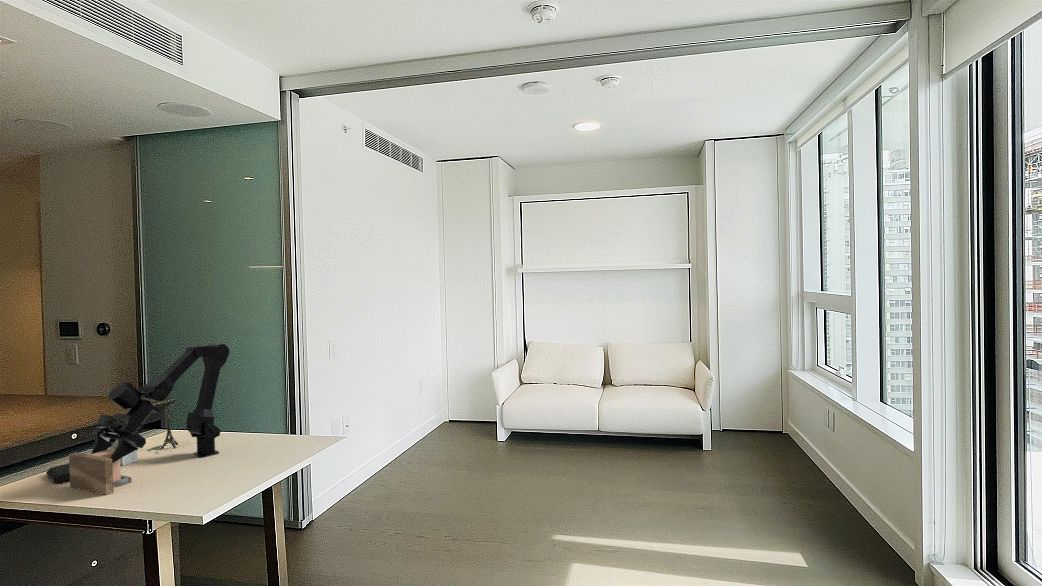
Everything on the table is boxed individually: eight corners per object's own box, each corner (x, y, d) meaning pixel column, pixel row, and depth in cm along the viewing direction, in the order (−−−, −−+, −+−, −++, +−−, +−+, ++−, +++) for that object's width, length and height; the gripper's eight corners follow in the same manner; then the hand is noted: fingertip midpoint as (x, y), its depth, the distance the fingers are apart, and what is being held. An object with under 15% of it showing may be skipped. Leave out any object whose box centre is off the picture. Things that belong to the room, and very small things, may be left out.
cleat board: (105, 476, 188) (103, 445, 187) (140, 483, 180) (139, 451, 180) (70, 486, 179) (68, 454, 178) (106, 495, 171) (104, 460, 171)
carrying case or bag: (41, 477, 189) (53, 487, 180) (40, 468, 189) (52, 477, 180) (81, 468, 197) (94, 477, 188) (80, 459, 197) (94, 467, 188)
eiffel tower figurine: (179, 441, 229) (178, 407, 229) (196, 444, 225) (195, 409, 225) (140, 452, 216) (139, 415, 216) (158, 455, 212) (156, 418, 211)
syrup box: (138, 460, 204) (136, 419, 203) (122, 466, 198) (120, 423, 198) (126, 459, 205) (124, 418, 205) (109, 464, 200) (108, 422, 200)
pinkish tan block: (110, 481, 183) (109, 449, 183) (121, 483, 181) (119, 451, 180) (90, 487, 178) (89, 454, 178) (101, 489, 176) (99, 456, 175)
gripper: (97, 400, 186) (59, 445, 176) (134, 405, 178) (96, 451, 168) (124, 420, 193) (89, 463, 184) (161, 425, 185) (126, 470, 176)
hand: (99, 461), depth 178 cm, fingers open, 9 cm apart
